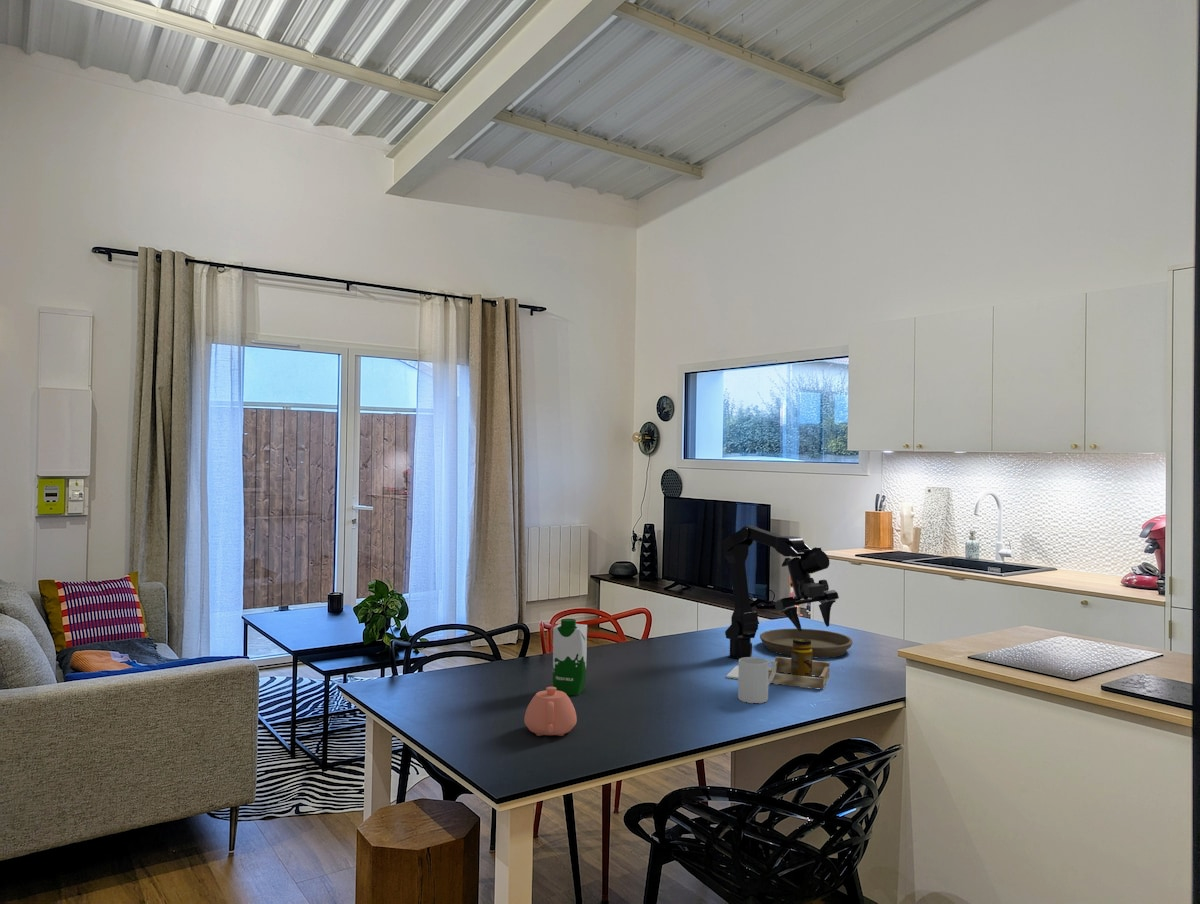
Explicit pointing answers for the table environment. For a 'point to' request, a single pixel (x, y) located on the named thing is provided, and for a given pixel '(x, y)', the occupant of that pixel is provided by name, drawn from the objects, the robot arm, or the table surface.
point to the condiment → (801, 657)
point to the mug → (754, 679)
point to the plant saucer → (820, 639)
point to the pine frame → (802, 681)
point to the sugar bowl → (550, 713)
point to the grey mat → (734, 673)
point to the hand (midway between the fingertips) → (814, 628)
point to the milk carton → (569, 656)
